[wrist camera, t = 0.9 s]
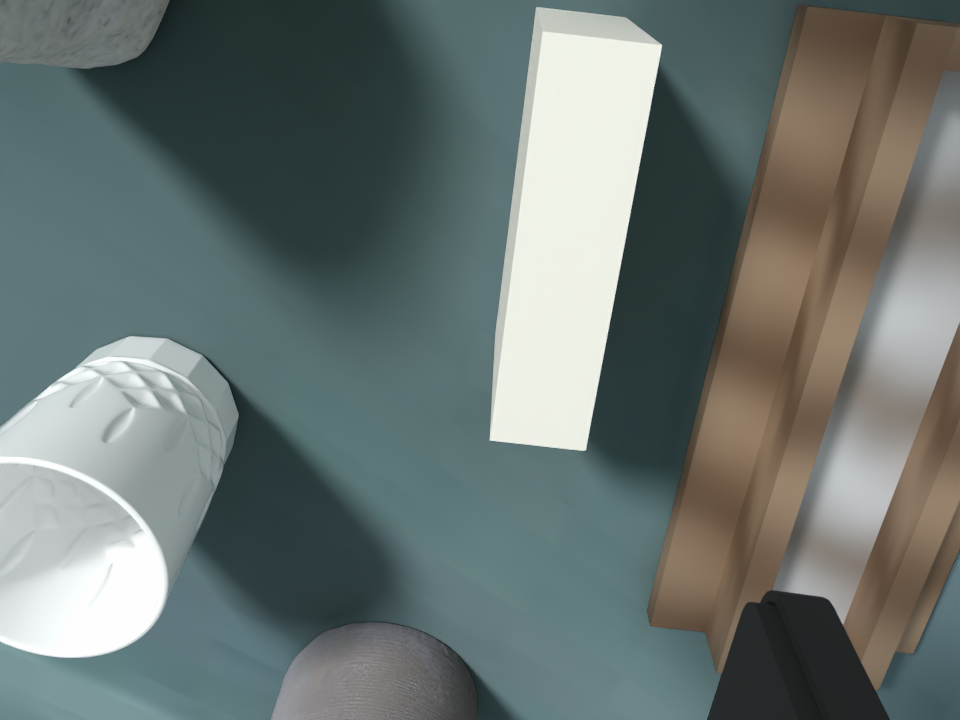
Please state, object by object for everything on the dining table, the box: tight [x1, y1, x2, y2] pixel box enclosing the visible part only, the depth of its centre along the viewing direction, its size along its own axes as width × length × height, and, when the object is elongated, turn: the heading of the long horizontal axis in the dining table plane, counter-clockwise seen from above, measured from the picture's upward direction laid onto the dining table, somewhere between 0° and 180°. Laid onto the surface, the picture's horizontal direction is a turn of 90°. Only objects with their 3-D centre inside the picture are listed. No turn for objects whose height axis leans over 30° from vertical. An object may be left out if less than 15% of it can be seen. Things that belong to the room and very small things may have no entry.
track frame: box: [647, 4, 960, 690], centre depth 33 cm, size 26×12×3 cm, turn 174°
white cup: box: [0, 336, 239, 658], centre depth 31 cm, size 8×8×10 cm
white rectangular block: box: [490, 7, 662, 451], centre depth 28 cm, size 12×3×8 cm, turn 174°
